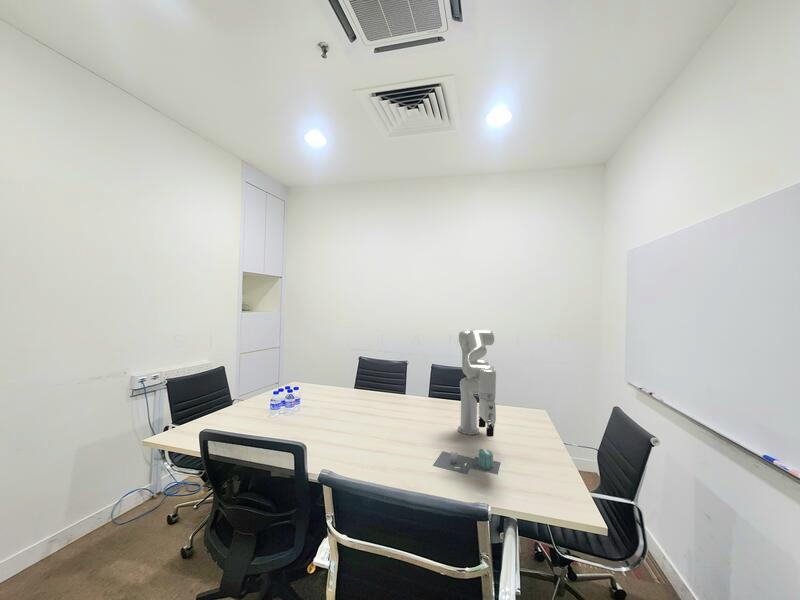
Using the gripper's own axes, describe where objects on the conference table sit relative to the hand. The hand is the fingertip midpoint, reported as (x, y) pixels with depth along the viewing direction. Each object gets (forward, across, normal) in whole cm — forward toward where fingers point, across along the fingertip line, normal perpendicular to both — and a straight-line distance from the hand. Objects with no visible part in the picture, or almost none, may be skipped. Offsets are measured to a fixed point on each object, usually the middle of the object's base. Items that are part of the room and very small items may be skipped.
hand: (485, 431), depth 145 cm
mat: (+16, -2, 0) cm, 16 cm away
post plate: (+16, +2, +14) cm, 21 cm away
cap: (+15, -2, 0) cm, 15 cm away
